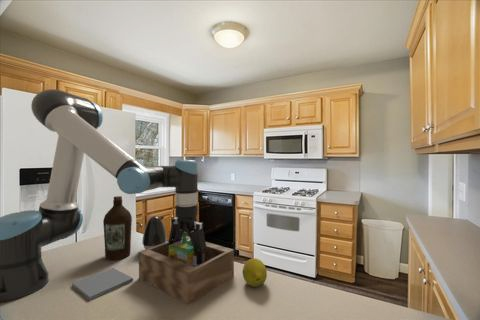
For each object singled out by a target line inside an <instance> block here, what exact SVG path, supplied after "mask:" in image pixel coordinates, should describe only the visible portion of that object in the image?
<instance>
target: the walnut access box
mask: <svg viewBox="0 0 480 320" xmlns="http://www.w3.org/2000/svg"><path fill="white" fill-rule="evenodd" d="M186 238H188V239H190V237H189V236H187V237H186ZM182 239H183V236H182ZM182 239H181V240H182ZM205 242H206V248H207V252H206V253H205V263H203V264H201V265H199V266H197V267H193V266H191V265H188V264H185V263H183V262H180V261H177V260H175V259H172V258H170V257H168V255H169V241H166V243H163V244H160V245H157V246H154V247H151V248H149V249H143V250H140V251H138V279H140V280H142V281H144V282H145V283H147V284H150V286H153V287H155V288H157V289H159V290H161V291H163V292H165V294H166V293H167V294H168V295H170V296H172V297H174V298H176V299H178V300H180V301H182V302H184V303H185V304H187V305H189V306H191V305H192V304H193V303H195V302H197V301H198V300H199V299H201V298H202V297H204V296H205V295H207V294H208V293H210V292H211V291H213V290H214V289H216V288H217V287H219V286H220V285H221V284H223V283H225V282H226V281H228V280H229V279H230V278H232V277H234V276H235V264H234V263H235V262H234V261H235V259H234V258H235V253H234V252H235V249H234V248H229V247H225V246H222V245H219V244H215V243H212V242H208V241H205ZM170 245H171V244H170Z"/></svg>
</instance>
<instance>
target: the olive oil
mask: <svg viewBox="0 0 480 320" xmlns="http://www.w3.org/2000/svg"><path fill="white" fill-rule="evenodd" d="M112 203H113V204H112V205H113V206H112V207H111V208H110V209H109V210H108V211H107V212H106V213H105V214H104V217H103V234H104V235H103V238H104V256H105V257H104V258H105V260H107V261H118V260H123V259H126V258H128V257H129V256H130V255H131V241H132V226H133V225H132V224H133V223H132V221H133V217H132V213H131V212H130V211H129V210H128V209H127V208H126V207H125V206H124V205H123V196H122V195H117V196H113V202H112Z"/></svg>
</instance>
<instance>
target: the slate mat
mask: <svg viewBox="0 0 480 320" xmlns="http://www.w3.org/2000/svg"><path fill="white" fill-rule="evenodd" d="M133 281H134V278H133V277H132V276H130V275H127V274H126V273H124V272H122V271H120V270H118V269H116V268H115V267H112V268H109V269H106V270H104V271H100V272H98V273H95V274H93V275H90V276H88V277H85V278H82V279H80V280H77V281H74V282H72V283H71V286H72V288H74V289H75V290H76V291H77V292H79V293H80V294H81V295H83V297H84V298H86V299H88V300H89V301H92V300H94V299H97V298H99V297H101V296H103V295H105V294H107V293H110V292H112V291H114V290H116V289H118V288H121V287H123V286H125V285H127V284H129V283H132V282H133Z"/></svg>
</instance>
